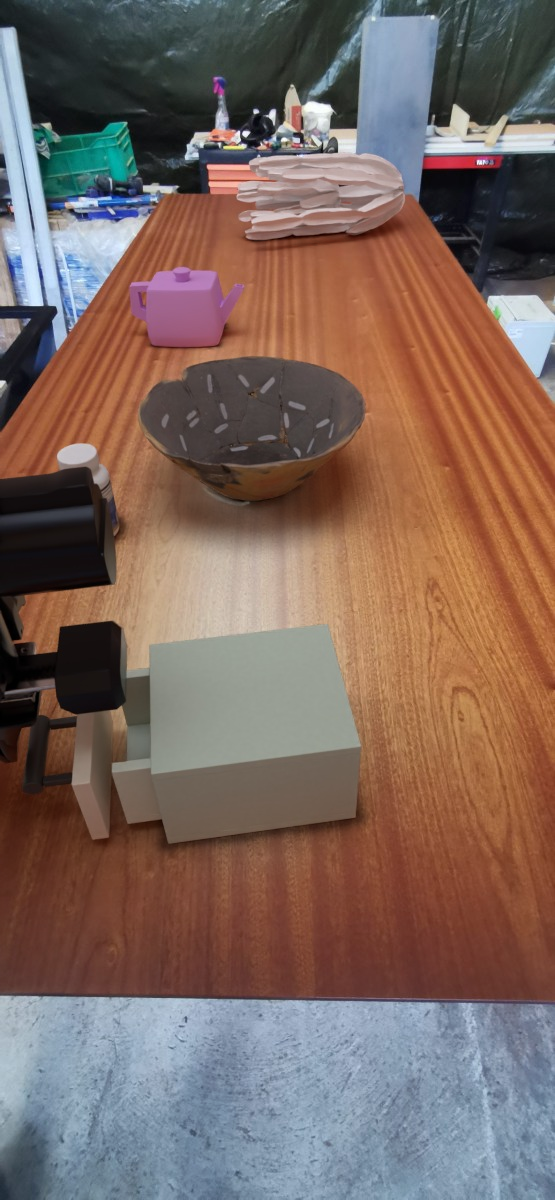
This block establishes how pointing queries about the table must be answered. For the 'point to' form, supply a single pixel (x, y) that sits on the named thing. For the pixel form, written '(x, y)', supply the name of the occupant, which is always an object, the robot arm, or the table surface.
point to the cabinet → (251, 733)
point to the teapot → (183, 307)
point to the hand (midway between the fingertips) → (12, 757)
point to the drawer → (101, 760)
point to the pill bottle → (89, 458)
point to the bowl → (252, 422)
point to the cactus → (320, 194)
